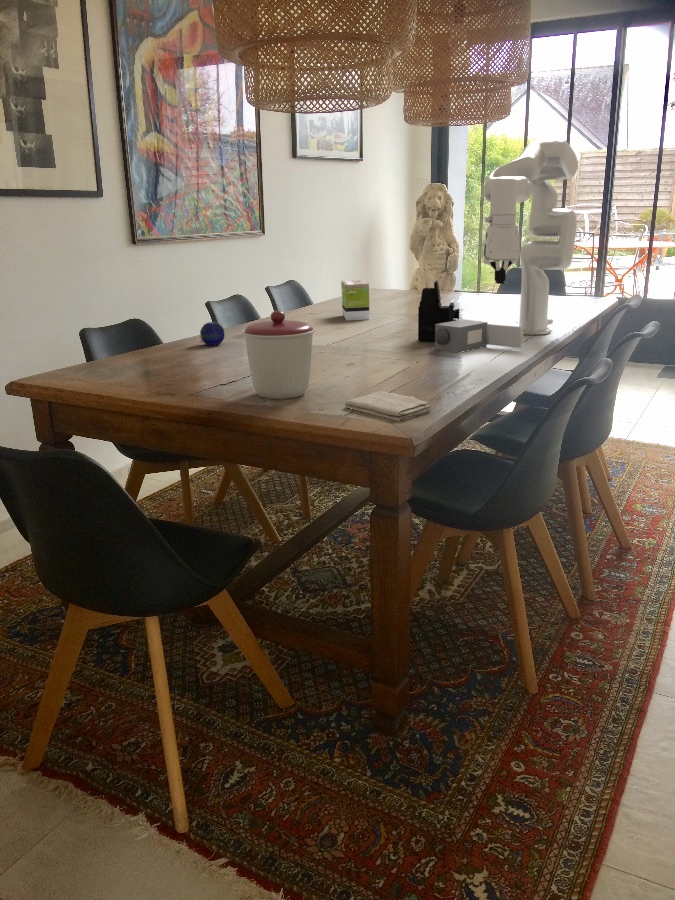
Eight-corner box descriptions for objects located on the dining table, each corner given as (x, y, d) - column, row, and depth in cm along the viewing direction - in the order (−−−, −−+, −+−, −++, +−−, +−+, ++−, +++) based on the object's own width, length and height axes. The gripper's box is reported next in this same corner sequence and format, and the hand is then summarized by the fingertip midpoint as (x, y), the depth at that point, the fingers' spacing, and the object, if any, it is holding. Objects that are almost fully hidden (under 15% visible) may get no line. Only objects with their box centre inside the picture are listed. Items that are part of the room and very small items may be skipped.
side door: (485, 344, 243) (486, 324, 241) (488, 343, 244) (489, 323, 242) (520, 348, 236) (521, 327, 234) (522, 347, 237) (523, 326, 235)
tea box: (341, 315, 319) (340, 280, 315) (364, 314, 320) (364, 279, 316) (345, 320, 305) (345, 283, 301) (370, 319, 306) (369, 283, 302)
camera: (457, 343, 251) (459, 282, 244) (417, 343, 253) (417, 282, 247) (458, 338, 260) (460, 279, 254) (419, 338, 263) (420, 279, 256)
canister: (331, 395, 187) (329, 310, 180) (268, 408, 177) (263, 318, 171) (292, 383, 201) (289, 303, 194) (232, 393, 191) (227, 310, 185)
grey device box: (462, 343, 252) (463, 319, 249) (487, 346, 244) (488, 322, 242) (432, 349, 242) (432, 324, 239) (457, 353, 235) (457, 328, 232)
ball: (203, 347, 254) (201, 325, 252) (198, 344, 261) (197, 322, 258) (226, 345, 257) (225, 323, 254) (221, 342, 264) (219, 320, 261)
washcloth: (401, 424, 164) (401, 410, 163) (342, 410, 176) (342, 397, 175) (434, 413, 172) (434, 400, 171) (376, 400, 184) (376, 388, 183)
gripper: (482, 222, 220) (479, 285, 226) (531, 220, 222) (527, 283, 227) (474, 221, 227) (472, 283, 233) (522, 219, 229) (519, 281, 234)
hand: (499, 283), depth 230 cm, fingers closed
